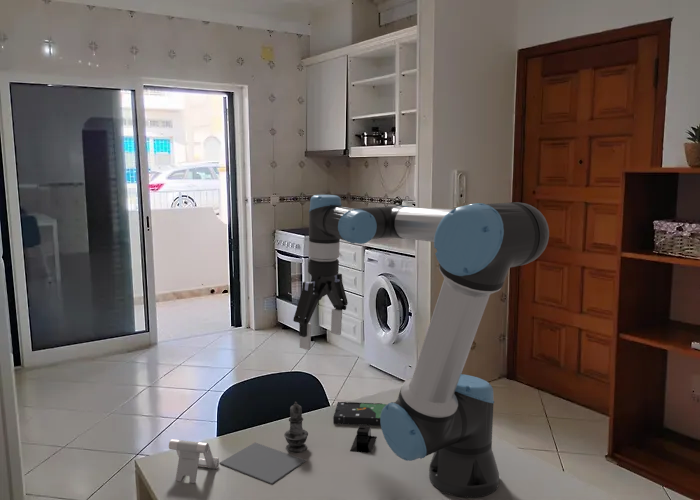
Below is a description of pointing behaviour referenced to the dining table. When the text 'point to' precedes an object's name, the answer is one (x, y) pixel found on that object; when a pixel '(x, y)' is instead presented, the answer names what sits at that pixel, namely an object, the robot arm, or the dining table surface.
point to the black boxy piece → (363, 440)
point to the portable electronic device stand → (192, 458)
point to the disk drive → (358, 413)
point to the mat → (263, 462)
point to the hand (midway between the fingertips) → (321, 340)
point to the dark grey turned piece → (296, 431)
